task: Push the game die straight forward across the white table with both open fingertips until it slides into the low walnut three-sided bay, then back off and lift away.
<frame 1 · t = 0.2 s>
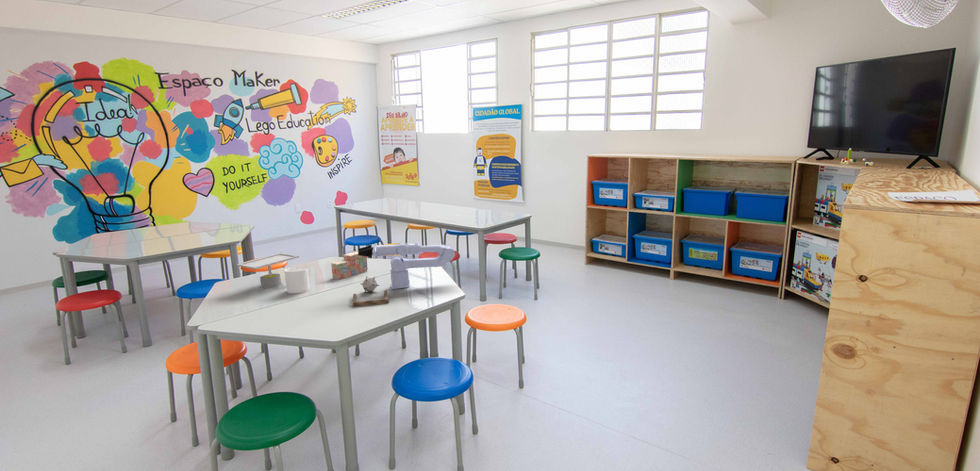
hand: (358, 251, 263), 21 cm above the table, tool horizontal, fingers open, 7 cm apart
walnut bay: (370, 299, 252), on the table
game die: (370, 292, 264), on the table
solar panel model: (271, 285, 282), on the table
cup: (298, 290, 271), on the table
stack of blocks: (350, 274, 299), on the table
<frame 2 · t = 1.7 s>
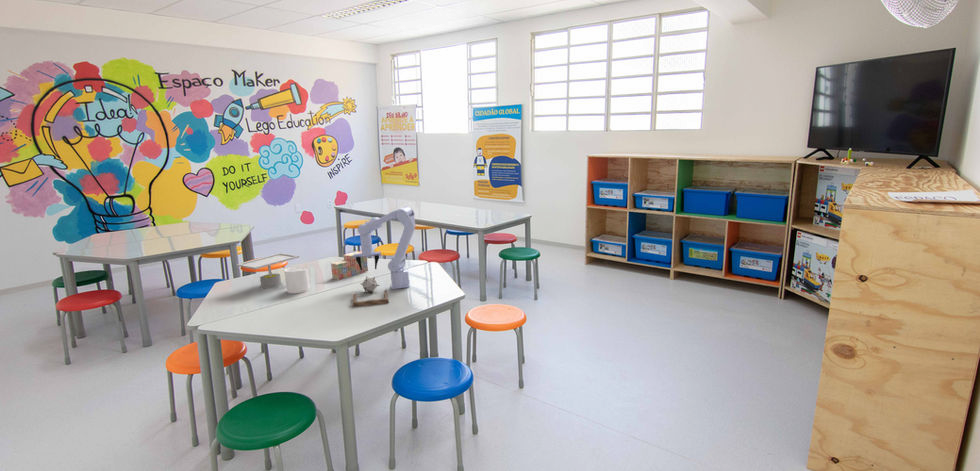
hand: (368, 269, 274), 9 cm above the table, tool pointing down, fingers open, 7 cm apart
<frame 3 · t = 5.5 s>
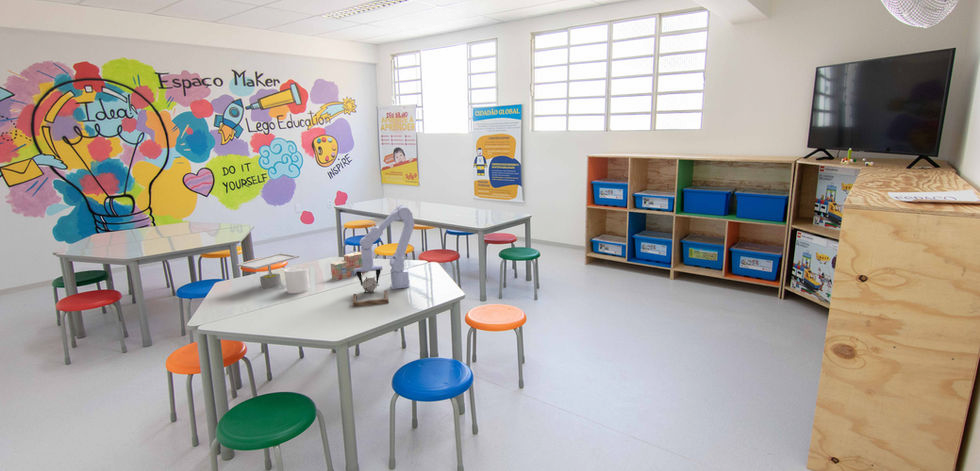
hand: (369, 284, 265), 3 cm above the table, tool pointing down, fingers open, 7 cm apart
game die: (370, 292, 264), on the table, touching gripper
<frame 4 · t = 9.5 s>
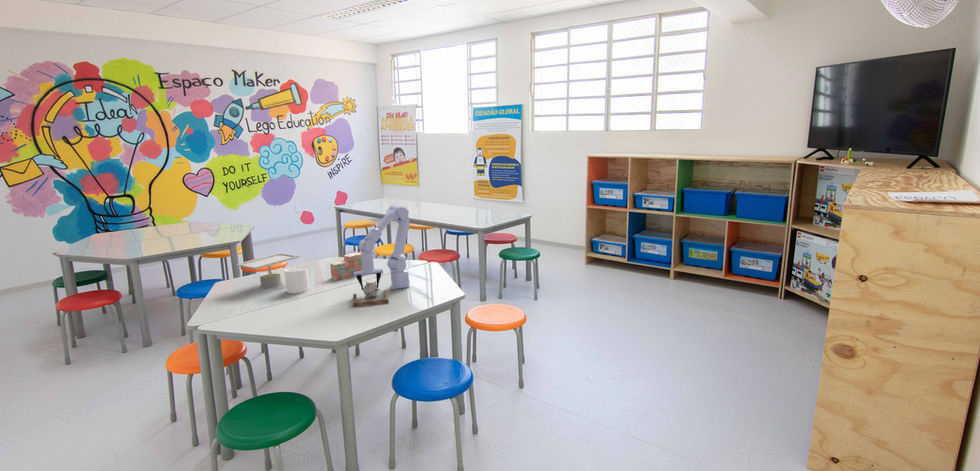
hand: (370, 288, 259), 3 cm above the table, tool pointing down, fingers open, 7 cm apart
game die: (371, 297, 255), on the table
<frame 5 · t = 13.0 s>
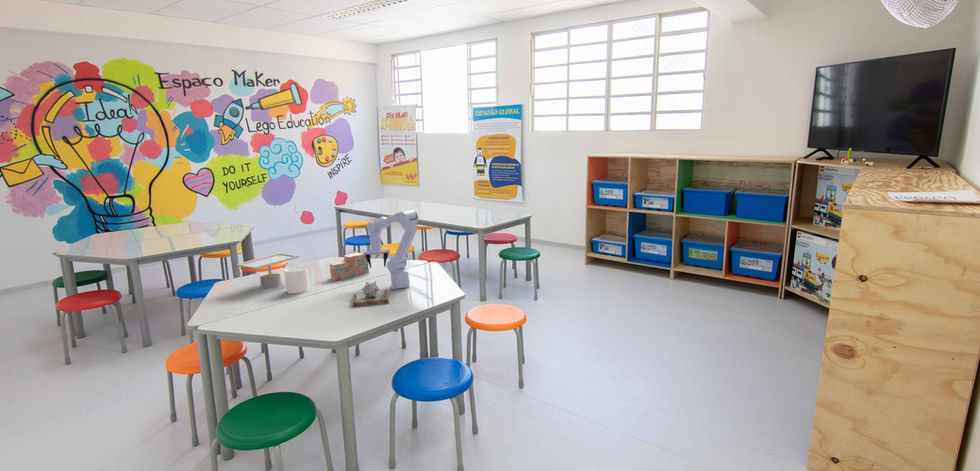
hand: (377, 267, 277), 9 cm above the table, tool pointing down, fingers open, 7 cm apart
at the end: game die inside the target area on the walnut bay (4.3 cm from its centre), point 0.0 cm above the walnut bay's base; game die tilted 0°; game die moved 9.2 cm from its start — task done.
